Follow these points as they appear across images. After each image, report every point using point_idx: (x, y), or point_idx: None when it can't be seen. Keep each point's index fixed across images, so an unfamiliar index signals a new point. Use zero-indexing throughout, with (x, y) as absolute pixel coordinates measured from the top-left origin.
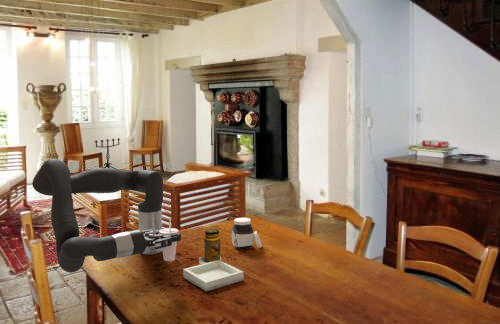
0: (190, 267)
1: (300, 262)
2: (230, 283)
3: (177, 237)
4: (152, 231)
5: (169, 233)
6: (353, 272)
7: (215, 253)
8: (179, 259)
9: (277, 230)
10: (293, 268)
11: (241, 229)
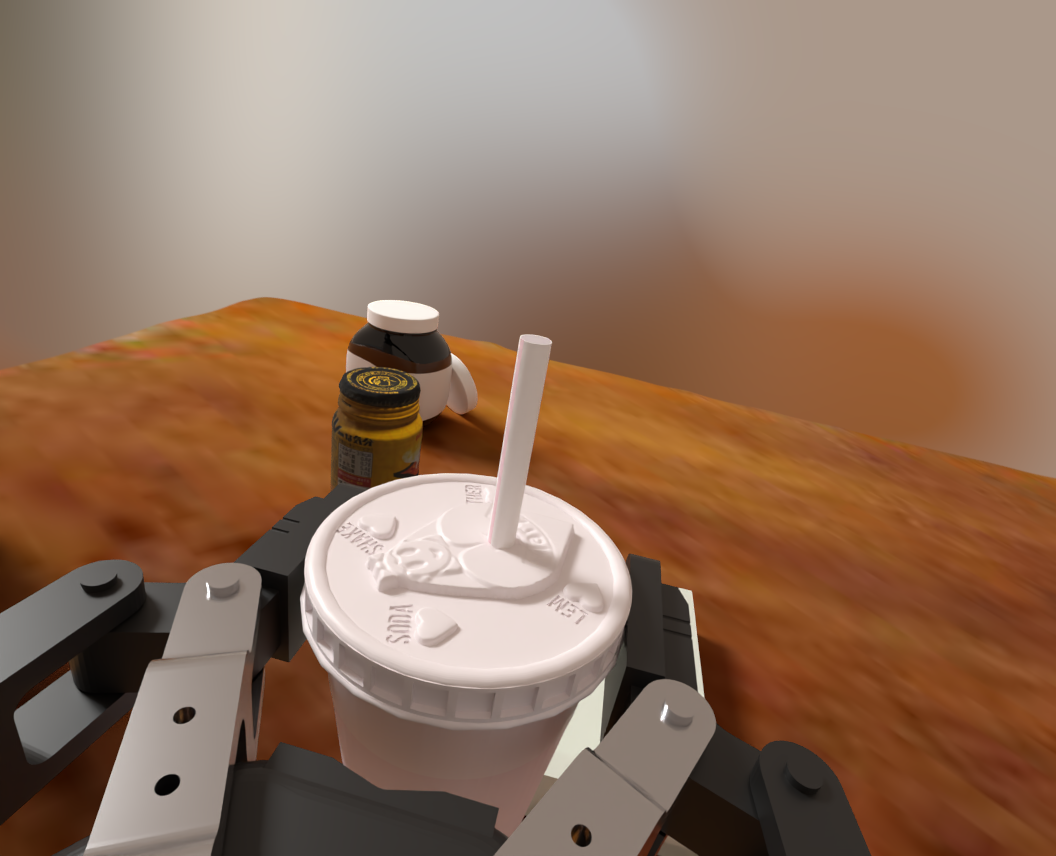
0: None
1: (661, 452)
2: None
3: (685, 635)
4: (208, 720)
5: (615, 634)
6: (817, 460)
7: None
8: (170, 576)
9: None
10: (691, 485)
11: (422, 352)
